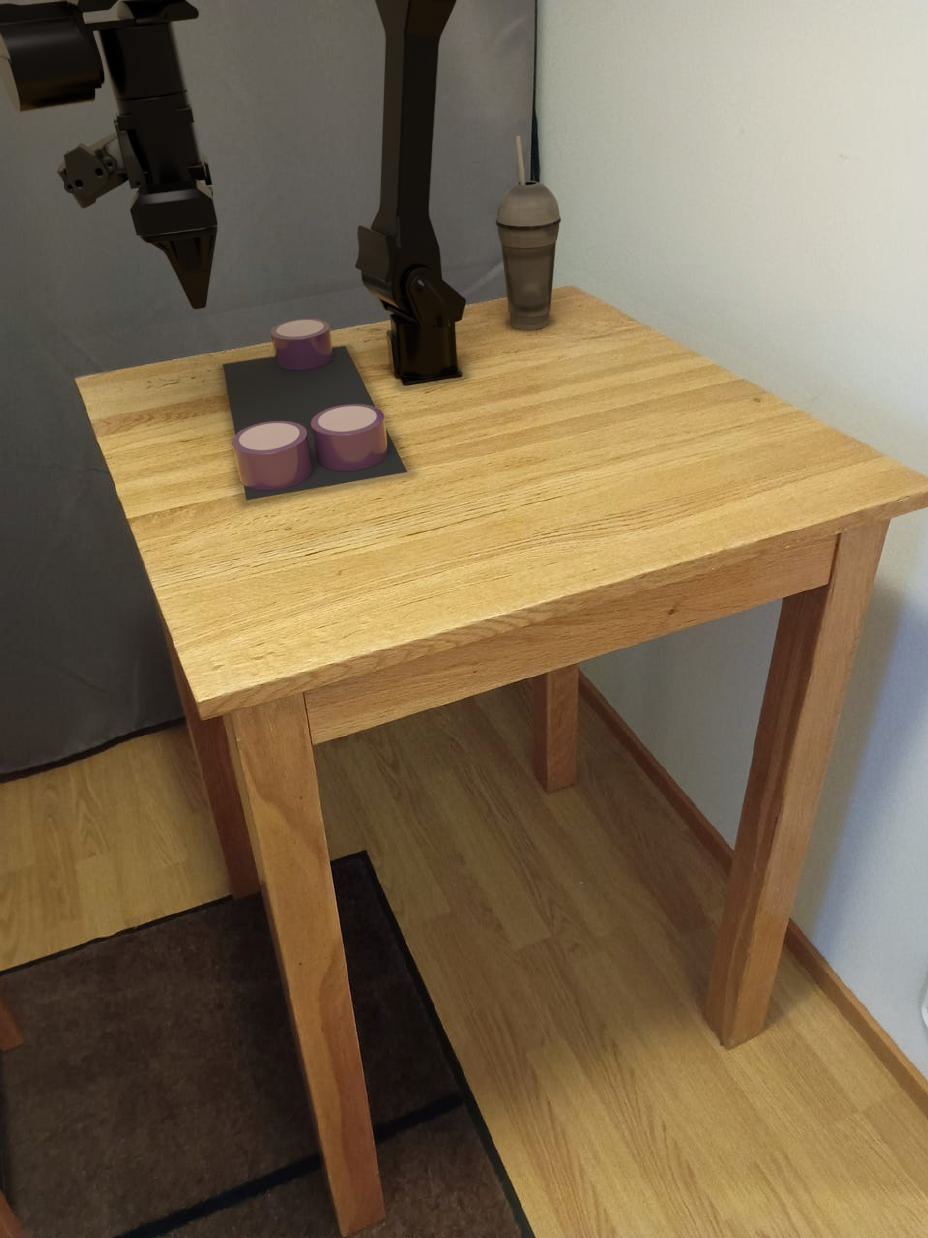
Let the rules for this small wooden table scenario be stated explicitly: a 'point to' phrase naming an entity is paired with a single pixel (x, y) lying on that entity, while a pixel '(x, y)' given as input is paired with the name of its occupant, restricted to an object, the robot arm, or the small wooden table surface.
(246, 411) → the placemat
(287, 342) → the short purple cylinder
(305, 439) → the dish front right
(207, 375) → the small wooden table surface
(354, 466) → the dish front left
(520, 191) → the beverage cup
